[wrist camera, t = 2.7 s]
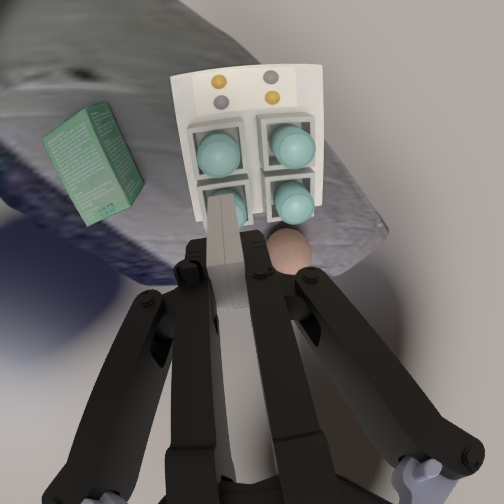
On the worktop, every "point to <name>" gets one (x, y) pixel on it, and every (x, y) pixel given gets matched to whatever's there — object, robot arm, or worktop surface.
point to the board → (250, 129)
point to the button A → (218, 155)
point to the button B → (238, 205)
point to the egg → (289, 251)
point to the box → (94, 163)
